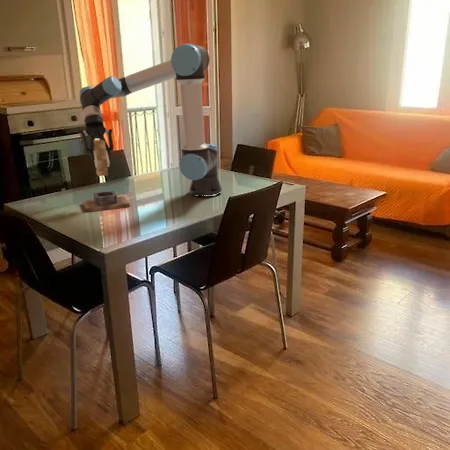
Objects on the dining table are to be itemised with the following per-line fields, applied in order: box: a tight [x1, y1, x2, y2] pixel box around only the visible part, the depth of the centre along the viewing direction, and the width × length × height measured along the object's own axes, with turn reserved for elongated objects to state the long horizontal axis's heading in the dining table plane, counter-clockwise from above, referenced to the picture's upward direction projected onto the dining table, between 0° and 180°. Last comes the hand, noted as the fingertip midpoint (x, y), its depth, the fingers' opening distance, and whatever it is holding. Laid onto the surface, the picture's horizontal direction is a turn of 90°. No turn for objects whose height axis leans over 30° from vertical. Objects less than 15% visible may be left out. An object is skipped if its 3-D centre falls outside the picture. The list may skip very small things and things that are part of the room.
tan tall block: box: [93, 139, 109, 177], centre depth 188 cm, size 4×4×14 cm
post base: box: [81, 190, 131, 213], centre depth 194 cm, size 18×12×5 cm, turn 113°
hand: (102, 165), depth 186 cm, fingers closed on tan tall block, 4 cm apart
